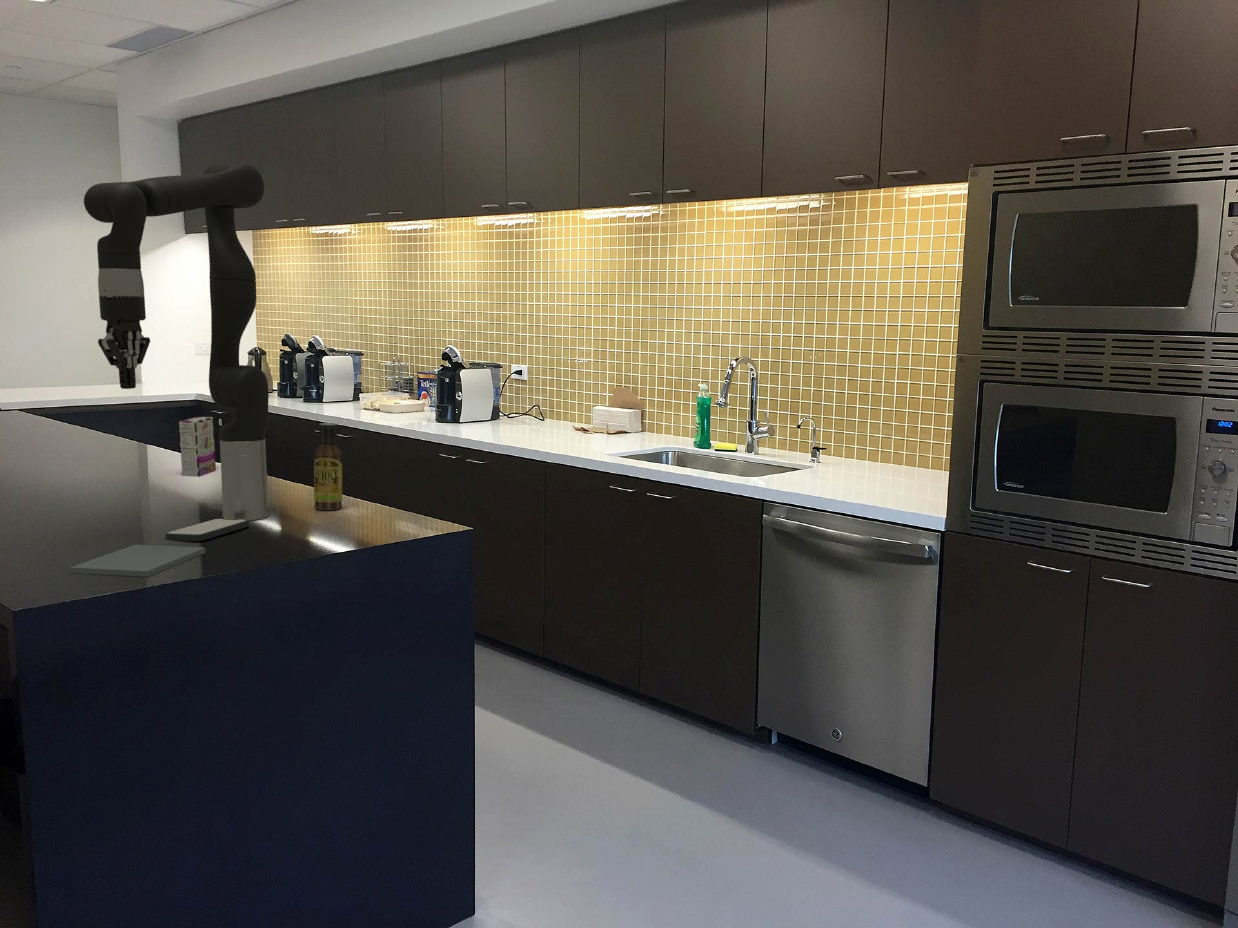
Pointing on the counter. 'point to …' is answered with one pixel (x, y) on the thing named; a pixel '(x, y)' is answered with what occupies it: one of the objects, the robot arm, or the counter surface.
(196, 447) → the candy bar box
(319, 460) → the sauce bottle
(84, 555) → the counter surface
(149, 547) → the mat
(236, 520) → the smartphone
